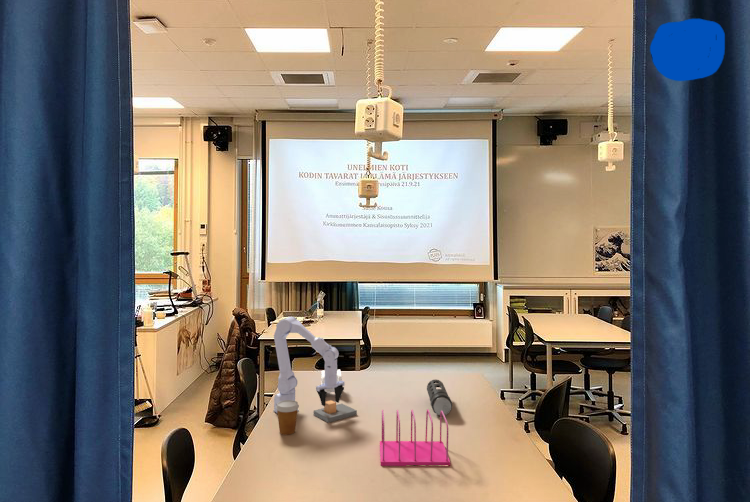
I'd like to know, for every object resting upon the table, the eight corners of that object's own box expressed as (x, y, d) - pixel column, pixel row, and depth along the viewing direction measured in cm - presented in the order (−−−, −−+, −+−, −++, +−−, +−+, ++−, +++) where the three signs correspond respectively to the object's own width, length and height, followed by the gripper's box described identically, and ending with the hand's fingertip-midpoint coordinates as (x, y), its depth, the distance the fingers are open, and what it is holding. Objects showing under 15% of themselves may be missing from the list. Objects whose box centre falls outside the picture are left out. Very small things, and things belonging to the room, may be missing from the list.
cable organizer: (341, 398, 240) (342, 376, 240) (321, 399, 238) (321, 376, 238) (340, 389, 255) (340, 368, 254) (320, 390, 253) (320, 368, 253)
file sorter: (379, 445, 185) (380, 406, 184) (442, 445, 185) (443, 406, 185) (380, 466, 167) (381, 422, 167) (450, 466, 168) (450, 423, 167)
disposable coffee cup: (293, 437, 191) (294, 408, 191) (272, 435, 193) (272, 406, 193) (302, 428, 200) (302, 400, 200) (281, 426, 202) (281, 399, 202)
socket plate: (327, 422, 207) (327, 418, 207) (313, 414, 216) (313, 410, 216) (356, 414, 217) (356, 410, 217) (341, 407, 226) (341, 403, 226)
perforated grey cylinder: (444, 398, 241) (444, 379, 241) (452, 419, 213) (453, 396, 213) (426, 398, 241) (426, 378, 241) (431, 418, 213) (432, 396, 213)
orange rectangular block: (328, 417, 214) (328, 404, 214) (324, 414, 217) (324, 402, 217) (336, 415, 216) (336, 402, 216) (331, 413, 219) (331, 400, 219)
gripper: (322, 379, 208) (321, 409, 209) (348, 373, 217) (348, 402, 218) (313, 375, 214) (313, 405, 214) (339, 370, 223) (339, 398, 223)
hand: (330, 403), depth 216 cm, fingers open, 7 cm apart
